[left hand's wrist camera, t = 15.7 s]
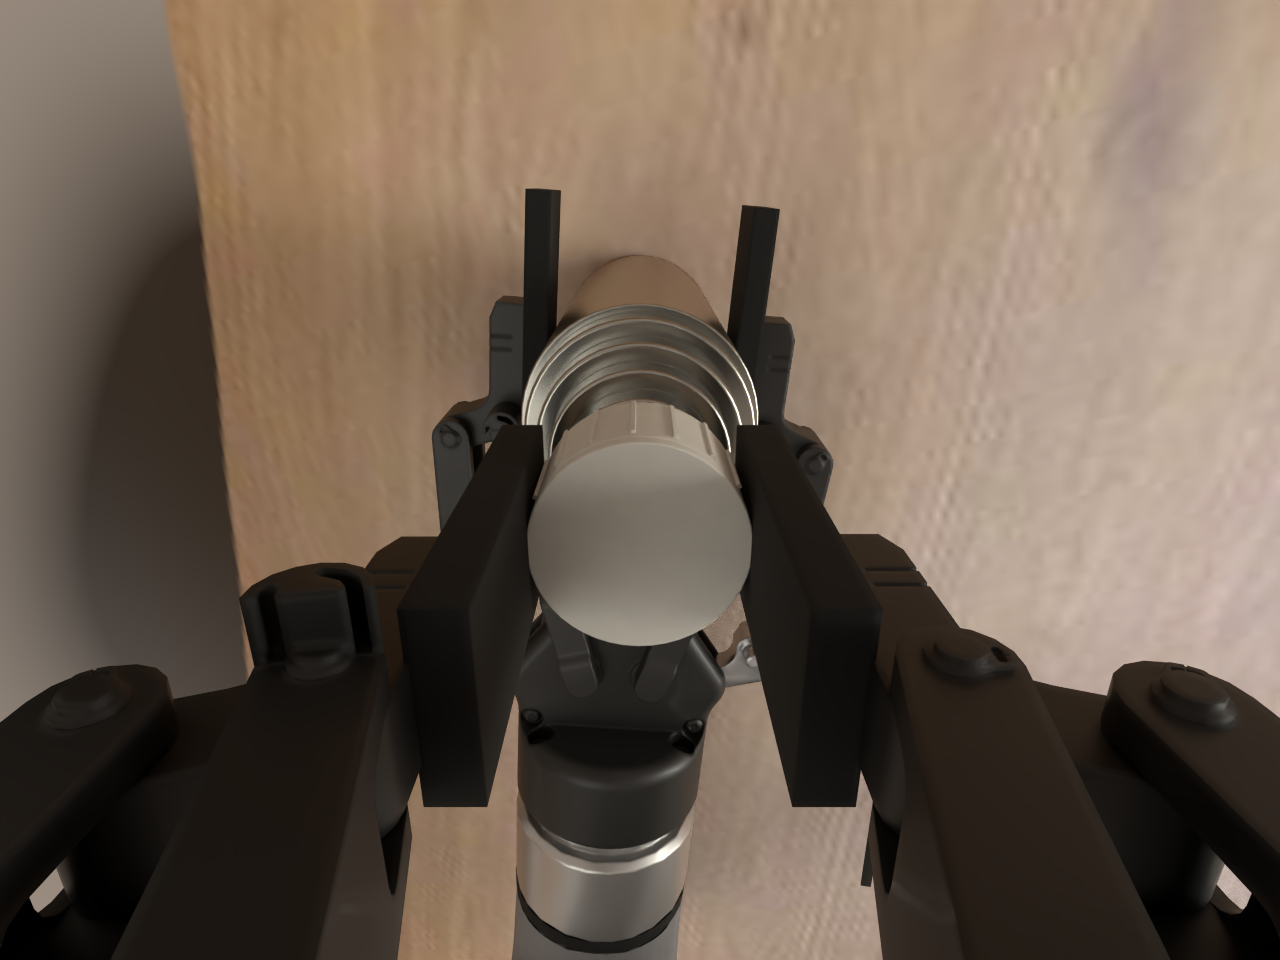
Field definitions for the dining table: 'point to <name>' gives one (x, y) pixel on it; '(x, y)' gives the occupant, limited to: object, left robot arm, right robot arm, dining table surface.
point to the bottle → (639, 354)
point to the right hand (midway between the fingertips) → (652, 199)
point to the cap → (639, 526)
